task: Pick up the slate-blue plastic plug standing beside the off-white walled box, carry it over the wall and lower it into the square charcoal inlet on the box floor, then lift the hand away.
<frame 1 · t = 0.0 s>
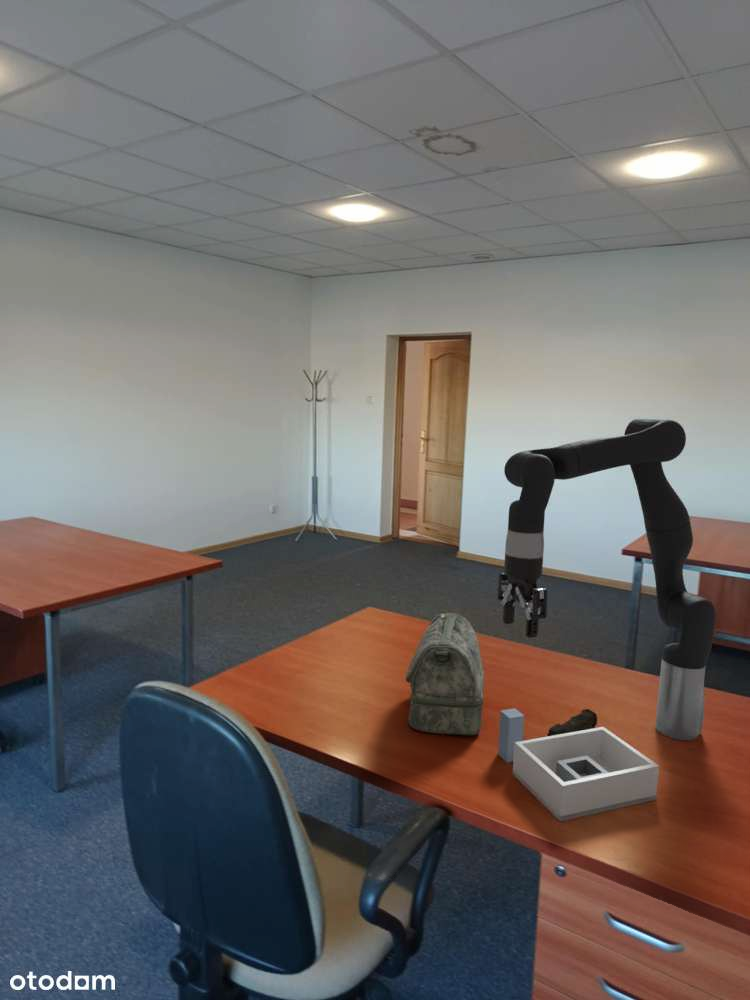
hand: (519, 629, 133), 29 cm above the table, tool pointing down, fingers open, 8 cm apart
walled box: (582, 786, 129), on the table
lunch bag: (445, 712, 159), on the table
plug: (509, 756, 139), on the table
hand tool: (570, 739, 148), on the table
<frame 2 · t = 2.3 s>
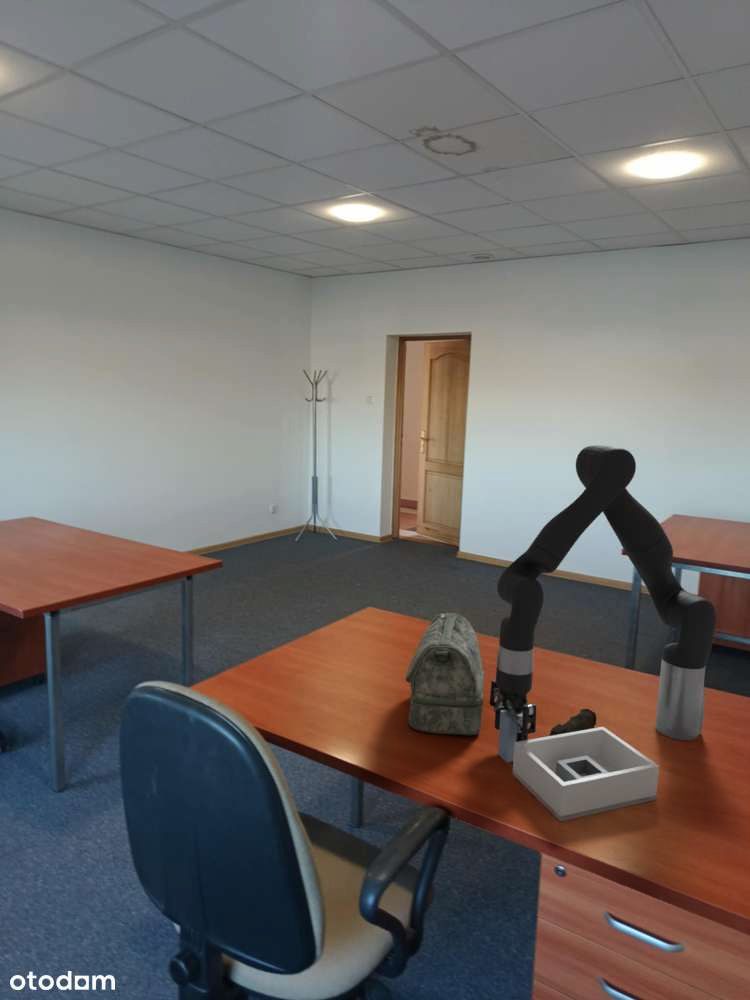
hand: (510, 738, 139), 4 cm above the table, tool pointing down, fingers open, 8 cm apart
nothing on the table moved.
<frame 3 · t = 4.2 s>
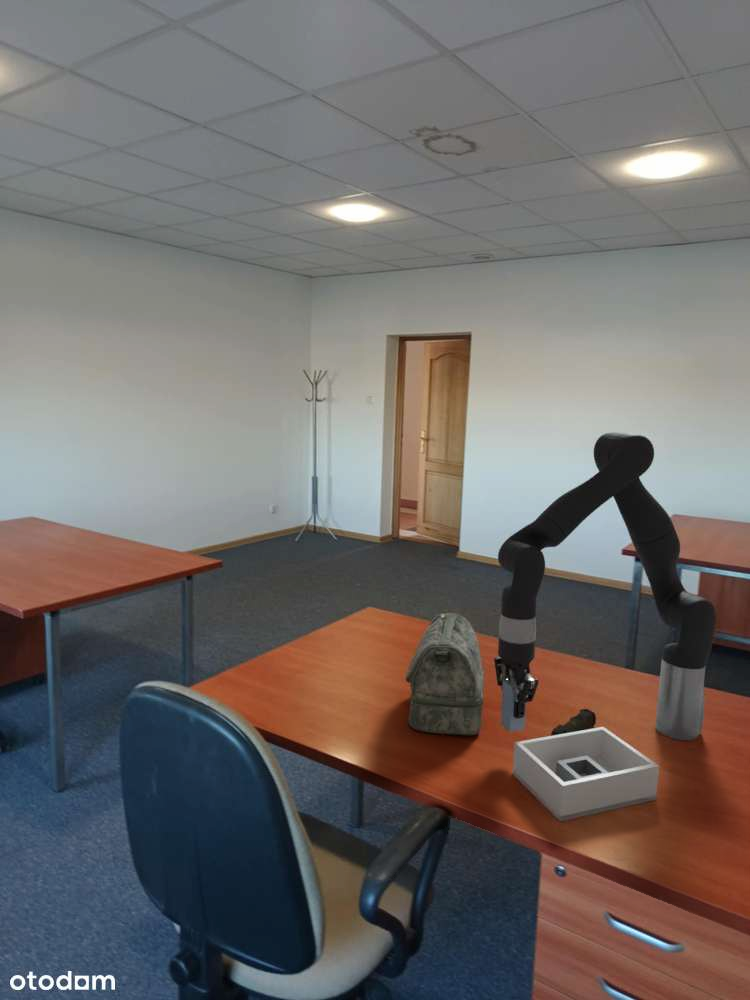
hand: (513, 712, 138), 10 cm above the table, tool pointing down, fingers closed on plug, 3 cm apart
plug: (512, 726, 138), point 7 cm above the table, touching gripper
everything else where it was.
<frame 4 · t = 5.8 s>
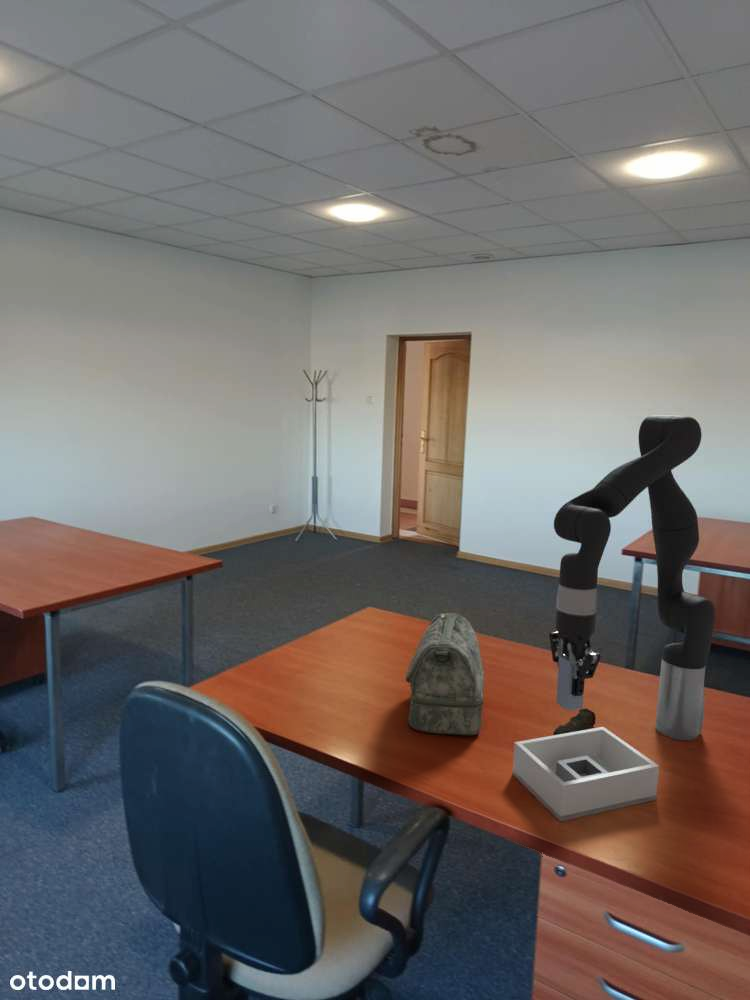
hand: (570, 690, 129), 19 cm above the table, tool pointing down, fingers closed on plug, 3 cm apart
plug: (569, 705, 129), point 16 cm above the table, touching gripper
everything else where it was.
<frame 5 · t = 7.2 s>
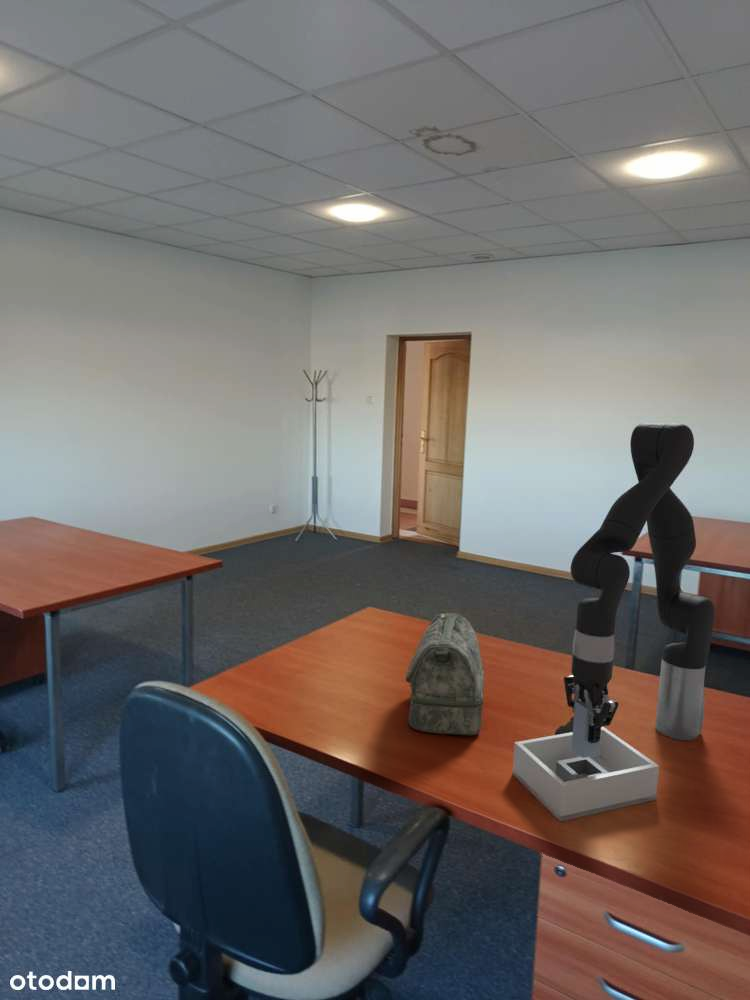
hand: (586, 736, 127), 11 cm above the table, tool pointing down, fingers closed on plug, 3 cm apart
plug: (584, 751, 128), point 7 cm above the table, touching gripper
everything else where it was.
when the fingers open (6 cm above the table, at t = 8.5 s): plug drops 1 cm, resting on walled box.
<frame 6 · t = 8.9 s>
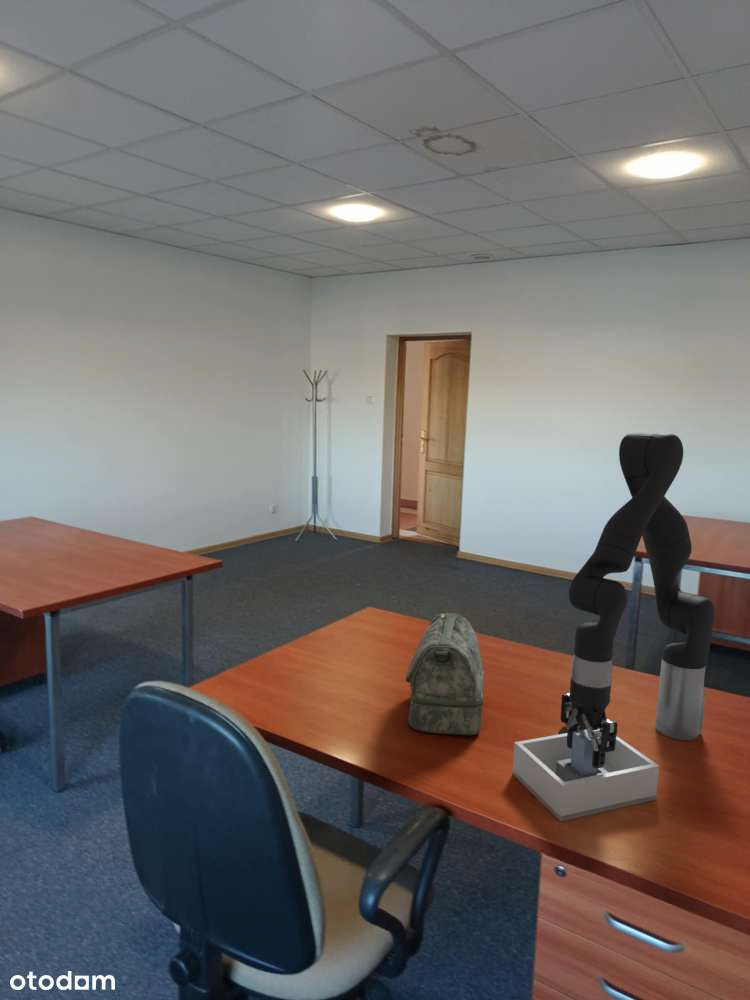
hand: (584, 756, 128), 6 cm above the table, tool pointing down, fingers open, 7 cm apart
plug: (583, 781, 129), point 1 cm above the table, touching walled box
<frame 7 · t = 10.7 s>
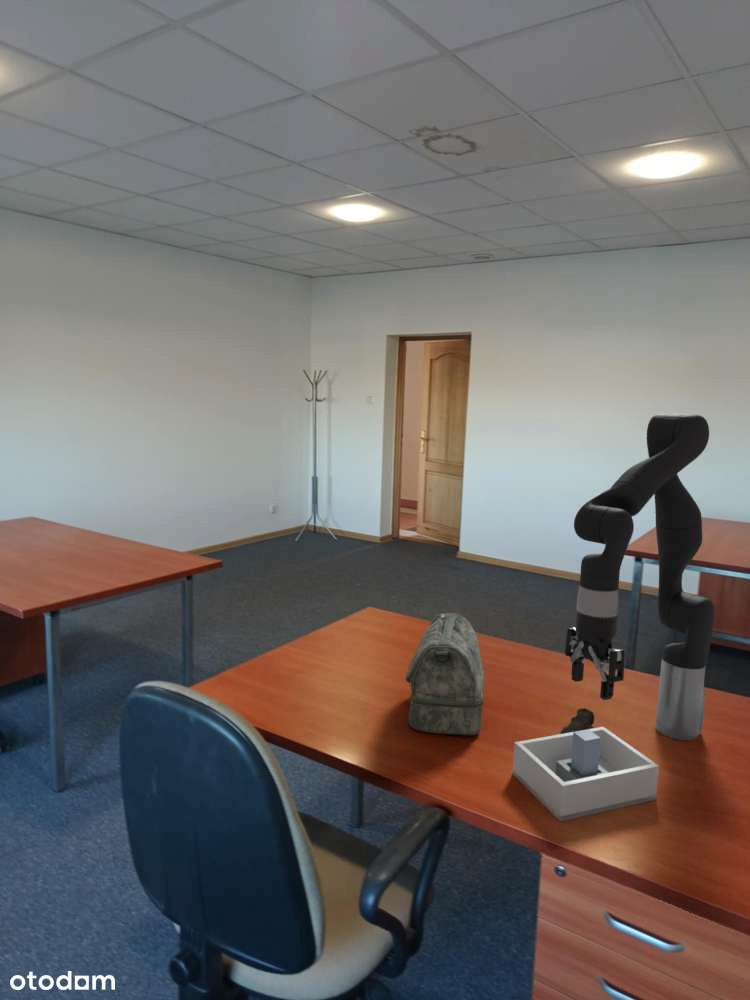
hand: (591, 689, 127), 20 cm above the table, tool pointing down, fingers open, 8 cm apart
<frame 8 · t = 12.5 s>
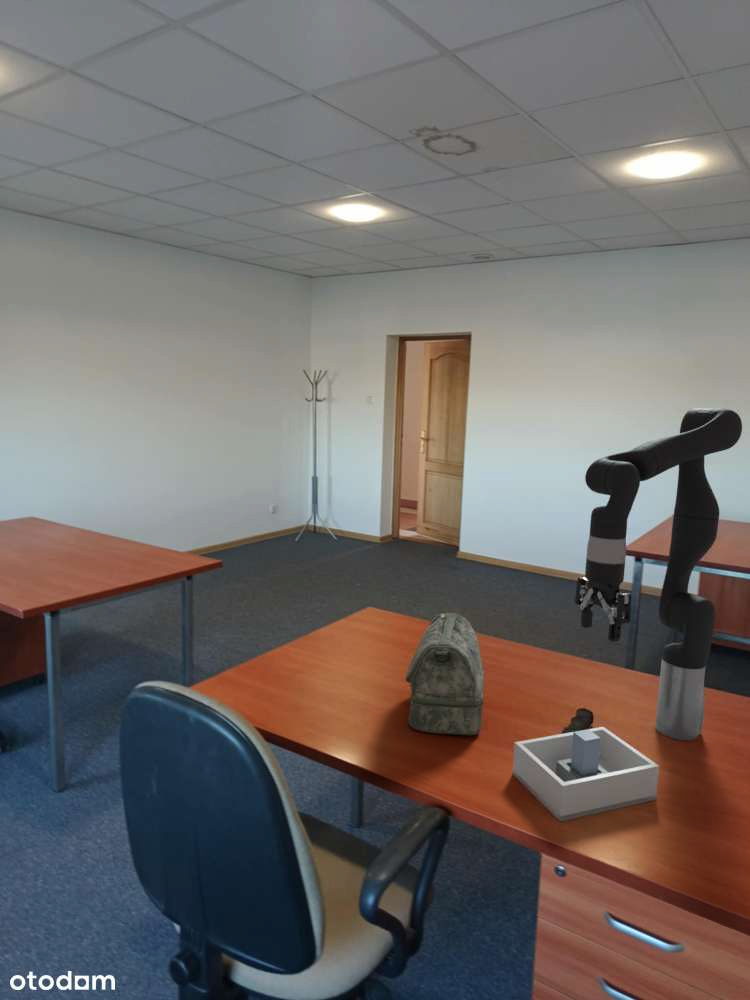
hand: (599, 633, 135), 28 cm above the table, tool pointing down, fingers open, 8 cm apart
at the end: plug 0.1 cm off-centre on the walled box, point 1.0 cm above the walled box's base; plug tilted 0°; the gripper is holding nothing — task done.
